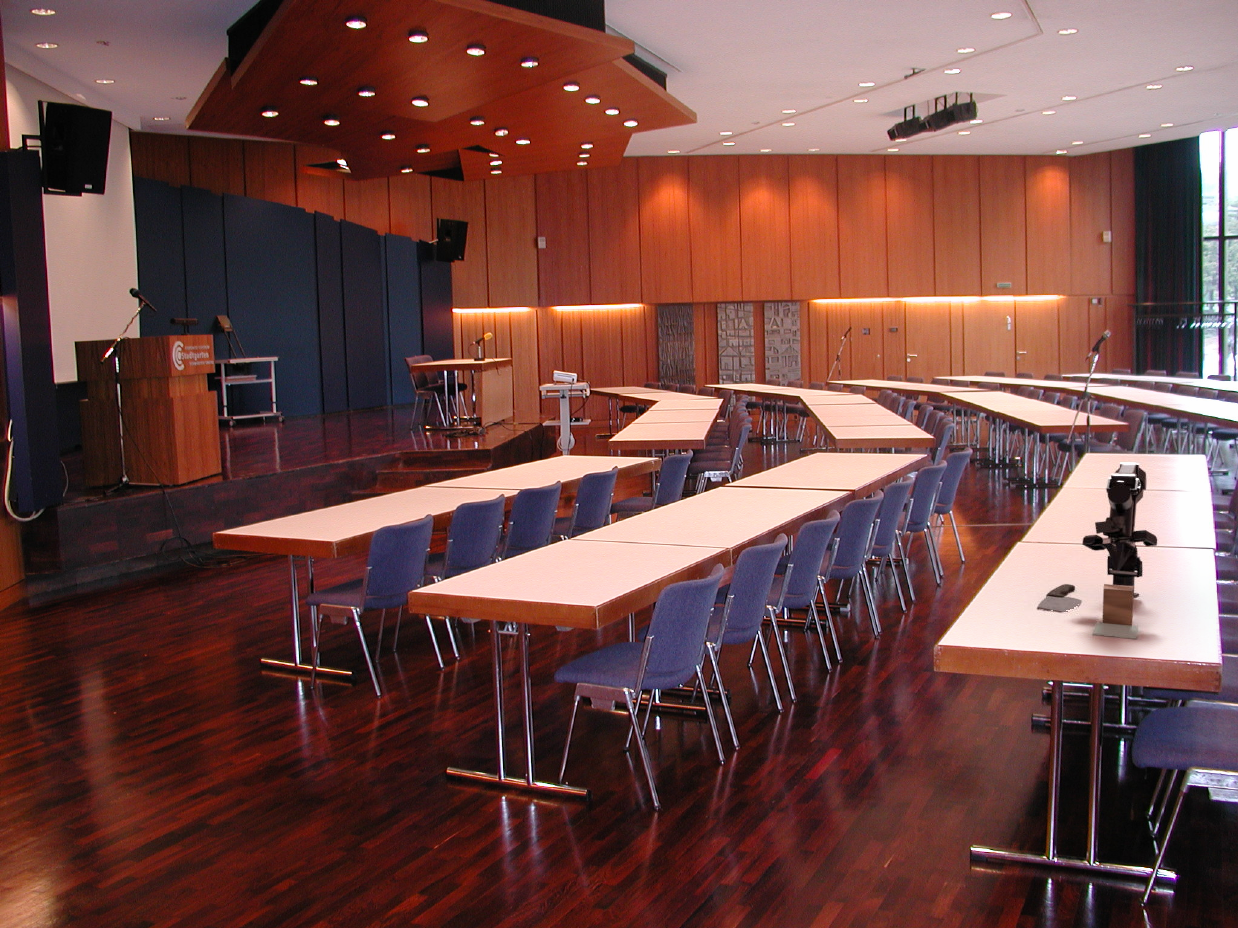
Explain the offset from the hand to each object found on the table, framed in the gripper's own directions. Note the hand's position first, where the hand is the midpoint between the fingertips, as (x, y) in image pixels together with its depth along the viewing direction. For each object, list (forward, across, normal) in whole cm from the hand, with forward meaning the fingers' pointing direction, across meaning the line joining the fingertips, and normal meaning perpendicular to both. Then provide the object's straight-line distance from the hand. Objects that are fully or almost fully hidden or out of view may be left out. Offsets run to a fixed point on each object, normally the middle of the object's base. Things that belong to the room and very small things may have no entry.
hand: (1116, 570), depth 284 cm
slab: (+16, +3, -2) cm, 16 cm away
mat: (+20, +7, -9) cm, 23 cm away
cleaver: (+7, -20, +6) cm, 22 cm away
